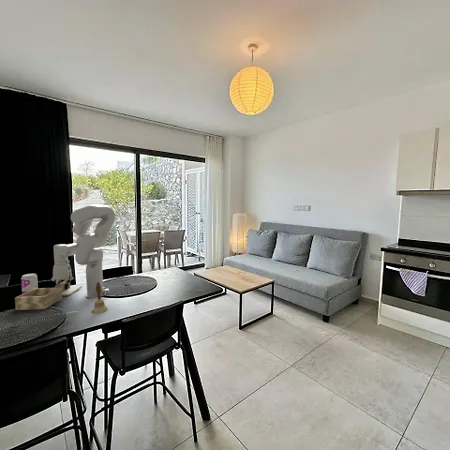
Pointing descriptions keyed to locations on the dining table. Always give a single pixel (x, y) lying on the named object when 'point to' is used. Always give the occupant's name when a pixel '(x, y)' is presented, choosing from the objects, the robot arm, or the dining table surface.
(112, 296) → the dining table surface
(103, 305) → the hand bell
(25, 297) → the box
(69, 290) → the lid
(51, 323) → the dining table surface
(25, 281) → the supplement can
